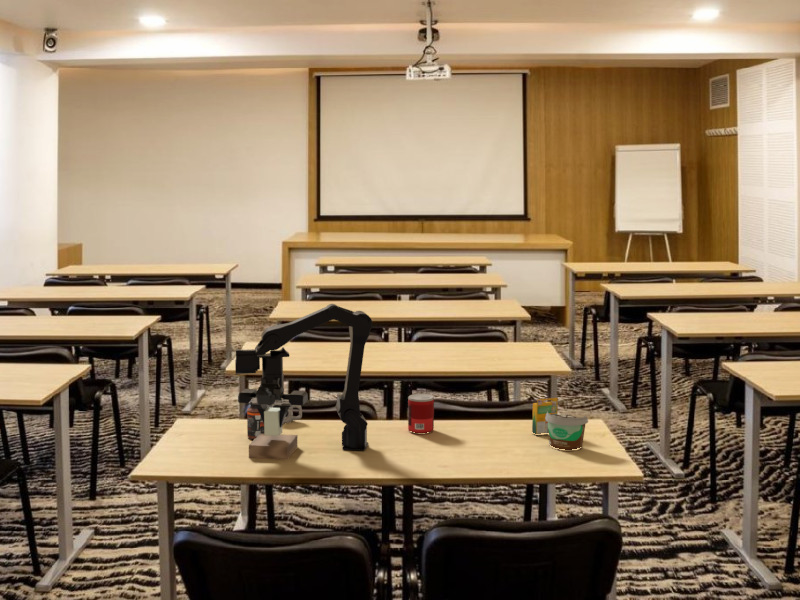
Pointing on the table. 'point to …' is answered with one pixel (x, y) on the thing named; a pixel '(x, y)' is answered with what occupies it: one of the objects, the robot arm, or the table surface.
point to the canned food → (421, 413)
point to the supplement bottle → (254, 422)
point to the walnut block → (273, 446)
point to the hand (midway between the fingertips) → (273, 426)
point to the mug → (289, 412)
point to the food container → (566, 431)
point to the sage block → (272, 422)
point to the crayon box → (543, 414)
